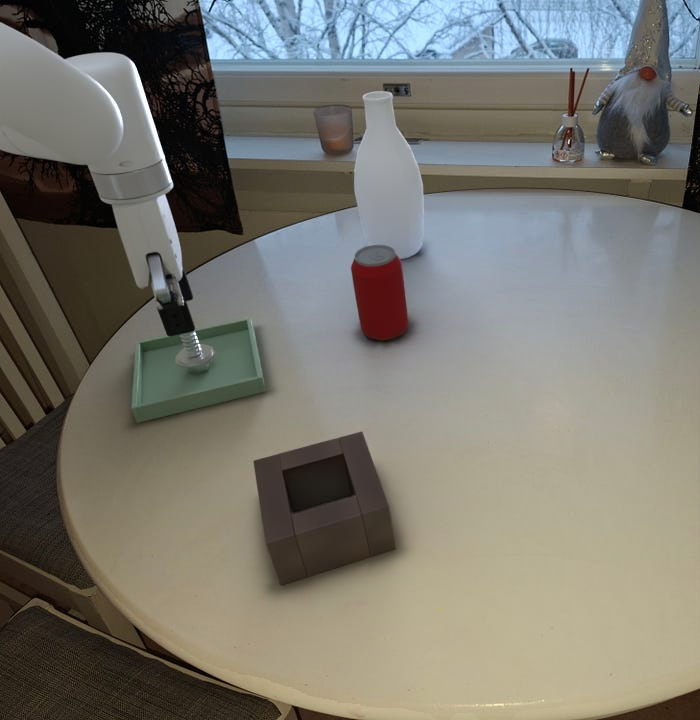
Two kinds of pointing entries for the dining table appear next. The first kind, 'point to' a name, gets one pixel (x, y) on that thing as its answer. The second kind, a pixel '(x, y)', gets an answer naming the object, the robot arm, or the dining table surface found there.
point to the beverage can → (380, 292)
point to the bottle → (388, 181)
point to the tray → (189, 390)
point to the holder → (322, 507)
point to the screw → (193, 352)
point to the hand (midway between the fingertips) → (180, 315)
